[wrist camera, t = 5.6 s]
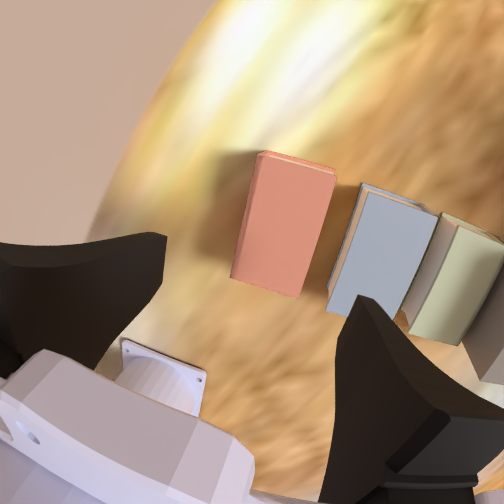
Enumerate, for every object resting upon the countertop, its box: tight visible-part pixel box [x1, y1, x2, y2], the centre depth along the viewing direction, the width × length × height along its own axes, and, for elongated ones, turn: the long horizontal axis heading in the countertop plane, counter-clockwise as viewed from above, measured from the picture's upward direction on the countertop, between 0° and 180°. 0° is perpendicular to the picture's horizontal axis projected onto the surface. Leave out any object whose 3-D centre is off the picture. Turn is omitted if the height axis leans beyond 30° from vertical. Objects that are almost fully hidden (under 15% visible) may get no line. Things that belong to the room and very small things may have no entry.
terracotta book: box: [230, 150, 337, 298], centre depth 18 cm, size 7×4×3 cm, turn 167°
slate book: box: [325, 183, 438, 320], centre depth 17 cm, size 7×4×3 cm, turn 167°
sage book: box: [400, 212, 504, 346], centre depth 17 cm, size 7×4×3 cm, turn 167°
